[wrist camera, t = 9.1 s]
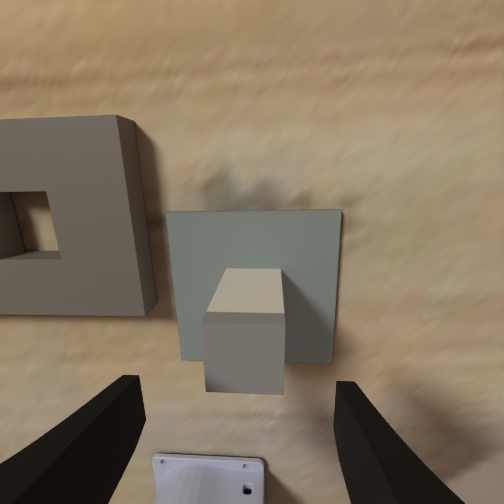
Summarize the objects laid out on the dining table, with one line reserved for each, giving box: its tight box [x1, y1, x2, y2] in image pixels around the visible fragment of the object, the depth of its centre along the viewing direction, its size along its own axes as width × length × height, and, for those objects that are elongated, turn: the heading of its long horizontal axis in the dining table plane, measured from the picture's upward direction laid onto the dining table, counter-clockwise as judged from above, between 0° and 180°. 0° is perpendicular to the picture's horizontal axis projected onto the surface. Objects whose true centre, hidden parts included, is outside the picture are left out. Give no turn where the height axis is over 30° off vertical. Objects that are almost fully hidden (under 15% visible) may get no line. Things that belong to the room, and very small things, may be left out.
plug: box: [201, 268, 285, 395], centre depth 16 cm, size 4×4×7 cm
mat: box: [166, 209, 341, 364], centre depth 19 cm, size 11×11×1 cm
